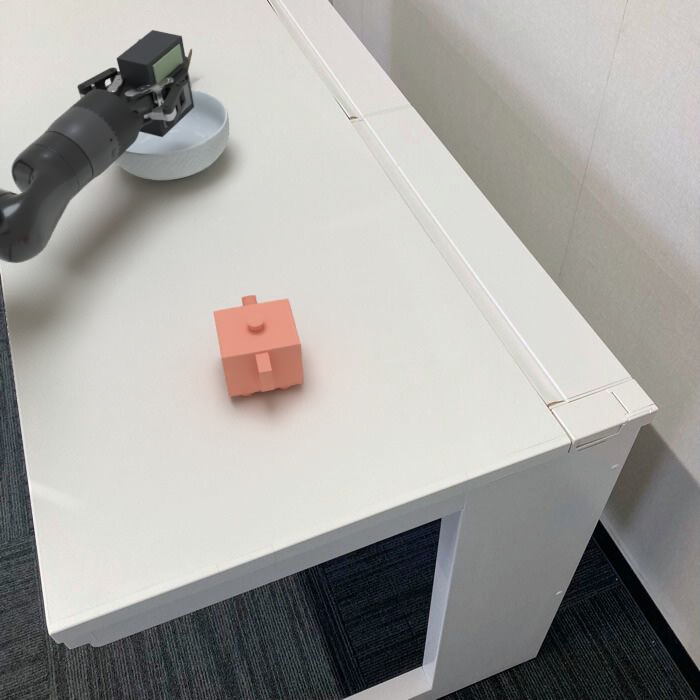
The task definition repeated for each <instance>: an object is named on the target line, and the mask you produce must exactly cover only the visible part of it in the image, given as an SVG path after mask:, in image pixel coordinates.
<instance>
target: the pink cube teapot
mask: <svg viewBox="0 0 700 700" xmlns="http://www.w3.org/2000/svg"><path fill="white" fill-rule="evenodd" d="M241 302H242V303H241V304H242V305H240V306H235V307H230V308H229V307H228V308H223V309H218V310H214V311H213V317H214V322H215V323H214V324H215V327H216V328H215V329H216V334H217V340H218V345H219V351H220V356H221V357H220V358H221V363H222V368H223V372H224V377H225V382H226V383H225V384H226V387H227V394H228V397H229V398H232V397H236V396H242V397H250V396H252V395H253V394H254V393H258V392H262V393H264V392H269V391H274V390H275V389H280V390H288V389H290V388H291V387H292V386H295V385H300V384H305V381H304V367H303V354H302V345H301V340H300V336H299V333H298V330H297V325H296V322H295V318H294V315H293V311H292V307H291V303H290V300H289V298H282V299H277V300H271V301H264V302H258V301H257V296H256V295H255V294H251V295H245V296H242V297H241Z"/></svg>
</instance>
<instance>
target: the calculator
mask: <svg viewBox="0 0 700 700" xmlns="http://www.w3.org/2000/svg"><path fill="white" fill-rule="evenodd" d="M137 41H138V42H137ZM137 41H136V42H135V43H134V44H132V45H131V46H130V47H129V48H127V49H126V50H125V51H124V52H122V53H121V54H120V55H118V56H117V57H116V62H117V66H118V71H120V75H121V77H124V78H125V81H126V83H125V84H128V85H131V86H133V87H137V88H139V87H141V86H143V85H145V84H147V83H150V84H151V83H152V82H154V83H157V84H158V83H159V82H160V81H161V80H162V79H164V78H166V76H167V75H168V74H170V73H171V72H172V71H173V70H174V69H175V68H176V67H177V66H178V65H179V64H185V65H186V66H187V63H186V57H187V56H186V53H185V47H184V41H183V36H182V35H178V34H174V33H169V32H164V31H159V30H156V29H155V30H154V29H152V30H151V31H149V32H148V33H147V34H145V35H144V36H143V37H142V38H140V40H139V39H138V40H137ZM185 56H186V57H185ZM125 84H124V85H125ZM183 88H184V93H185V98H186V104H185V106H184V108H183V110H182V112H181V114H180V116H179V118H178V120H177V122H176V124H177V123H178V122H179V121H180V120H181V119H182V118H183V117H184V116H185V115H186V114H188V113H189V112H190V111H191V110H192V109H193V108H194V103H193V97H192V91H191V89H192V87H191V81H190V80H189V82H188V83H186V85H185V86H184V87H183ZM161 94H162V96H163V95H164V94H166V89H163V90H162V91H161ZM150 95H151V98H152V102H153V103H155V100H154V97H153V93H152V92H150ZM176 124H175V125H176ZM175 125H174V126H175ZM174 126H171V127H169V126H166V124H165V120H153V121H152V122H151V123H149V124H147V125H145V126H143V127H142V128H141V129H140V132H143V133H147V134H151V135H155V136H159V137H163V136H164V135H165V134H167V133H168V132H169V131H170V130H171V129H172V128H173V127H174Z"/></svg>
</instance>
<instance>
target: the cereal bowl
mask: <svg viewBox="0 0 700 700" xmlns="http://www.w3.org/2000/svg"><path fill="white" fill-rule="evenodd" d="M191 91H192V97H193V103H194V108H193V109H192V110H191V111H190V112H189V113H188V114H186V115H185V116H184V117H183V118H182V119H181V120H180V121H179V122H178V123H177V124H176V125H175V126H174V127H173V128H172V129H171V130H170V131H169V132H168V133H167V134H165V135H164V136H163V137H159V136H155V135H151V134H147V133H143V132H139V134H138V137H137V139H136V141H135V142H134V143H133V144H132V145H131V146H130V147H129V148H128V149H127V150H126V151H125V152H124V153H123V154H122V155H121V156H120V157H119V158H118V159H117V160H115V161H114V163H116V165H117V166H118V167H119V168H121V169H122V170H123V171H126V172H127V173H129V174H131V175H133V176H136V177H138V178H141V179H145V180H146V179H147V180H151V181H152V180H153V181H171V180H172V181H173V180H179V179H183V178H186V177H190V176H194V175H195V174H198V173H200V172H201V171H204V170H205V169H207V168H208V167H210V166H211V165H212V164H213V163H214V162H216V161H217V160H218V159H219V157H220V156H221V155H222V154H223V152H224V150H225V149H226V147H227V145H228V141H229V137H230V118H229V112H228V109H227V107H226V106H225V104H224V103H223V102H222V100H220V99H219V98H218V97H216V96H215V95H213V94H212V93H208V92H206V91H202V90H199V89H194V88H191Z"/></svg>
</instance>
